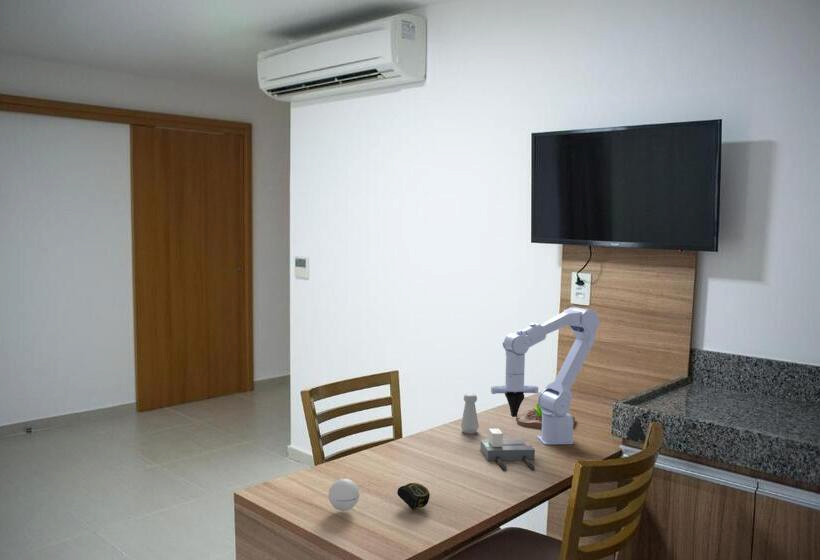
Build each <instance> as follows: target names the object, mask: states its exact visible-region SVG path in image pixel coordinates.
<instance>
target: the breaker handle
mask: <svg viewBox="0 0 820 560" xmlns="http://www.w3.org/2000/svg"><path fill="white" fill-rule="evenodd" d="M503 436H504V435H503V432H502V431H501V430H500V428H488V440H489V443H490V444H491V446H492V447H503V440H504V437H503Z"/></svg>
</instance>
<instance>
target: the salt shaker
mask: <svg viewBox="0 0 820 560" xmlns="http://www.w3.org/2000/svg"><path fill="white" fill-rule="evenodd" d="M477 401H478V396H477V395H476V394H475V393H466V394H465V395H464V396H463V402H464V403H465V404H464V408H463V412H462V419H461V423H460V427H461V430H462V432H463V433H464V434H467V435H474V434H476V433H477V432H478V429H479V426H480V424H479V421H478V419H479V418H478V414H477V410H476V409H477V407H476V402H477Z"/></svg>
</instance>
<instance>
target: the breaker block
mask: <svg viewBox="0 0 820 560" xmlns="http://www.w3.org/2000/svg"><path fill="white" fill-rule="evenodd" d="M535 451H536V450H535V448H534V447H533V446H532V444H530V442H529V441H528V440H527V439H526V438H521V439H519V438H518V439H517V438H514V439H513V438H510V439H503V447H492V446H491V444H490V443H489V439H480V452H481V453H482V454H483V456H484V458H485V459H486V460H487V461H488V462H489V461H491V462H492V461H497V460H496V457H497V456H498V457H500V459H501V460H502V461H524V460H523V456H526V457H527V458H528V459H529V461H530V460H531V461H532V460H533V461H534V460H535V458H536V455H535V454H536V452H535Z"/></svg>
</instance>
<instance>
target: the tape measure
mask: <svg viewBox="0 0 820 560" xmlns="http://www.w3.org/2000/svg"><path fill="white" fill-rule="evenodd" d="M430 495H431V494H430V491H429V489H428V488H427V486H425V485H423V484H420V483H418V482H411V483H410V482H409V483H407V484H405V485H402V486H400V487H399V488H398V489H397V496H398V497H399V498H400V499H401V500H402V501H403V502H404V503H405V504H406V505H408V507H409V508H410V509H411V510H416V509H421V508H424V507H426V505H427V504H428V503H429V501H430Z"/></svg>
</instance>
